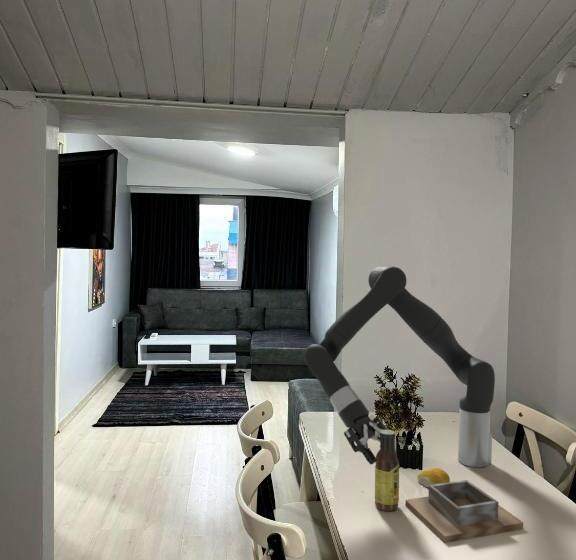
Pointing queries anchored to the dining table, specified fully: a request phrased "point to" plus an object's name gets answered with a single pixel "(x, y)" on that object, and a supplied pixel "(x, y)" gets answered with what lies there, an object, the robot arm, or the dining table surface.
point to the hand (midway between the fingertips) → (383, 458)
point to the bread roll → (433, 477)
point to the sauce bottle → (387, 473)
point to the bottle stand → (461, 512)
